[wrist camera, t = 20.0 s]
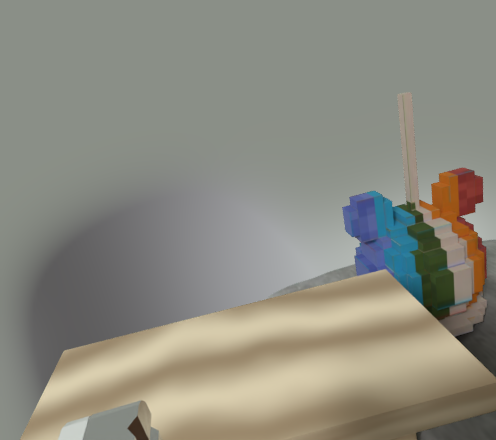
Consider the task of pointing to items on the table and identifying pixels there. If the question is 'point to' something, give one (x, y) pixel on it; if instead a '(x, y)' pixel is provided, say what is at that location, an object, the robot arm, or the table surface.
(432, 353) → the wooden step stool
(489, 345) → the table surface
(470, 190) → the toy
